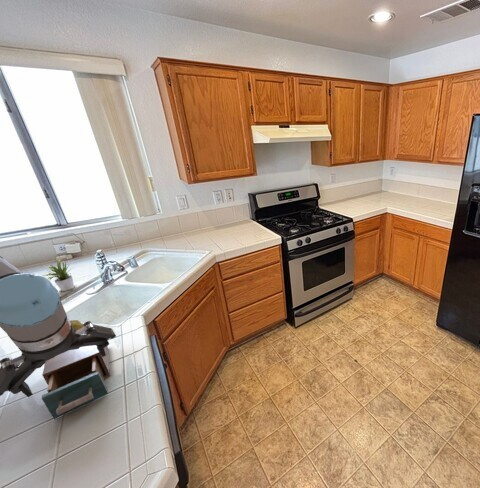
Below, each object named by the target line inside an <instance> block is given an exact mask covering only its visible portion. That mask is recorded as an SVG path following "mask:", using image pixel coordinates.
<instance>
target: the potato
mask: <svg viewBox="0 0 480 488" xmlns="http://www.w3.org/2000/svg"><path fill="white" fill-rule="evenodd" d="M69 321H70V323H71V325H72V327H73V329H74V330H79V329H81V328H83V327H84V323H82V322H81V321H79V320H75V319H73V320H69Z"/></svg>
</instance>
